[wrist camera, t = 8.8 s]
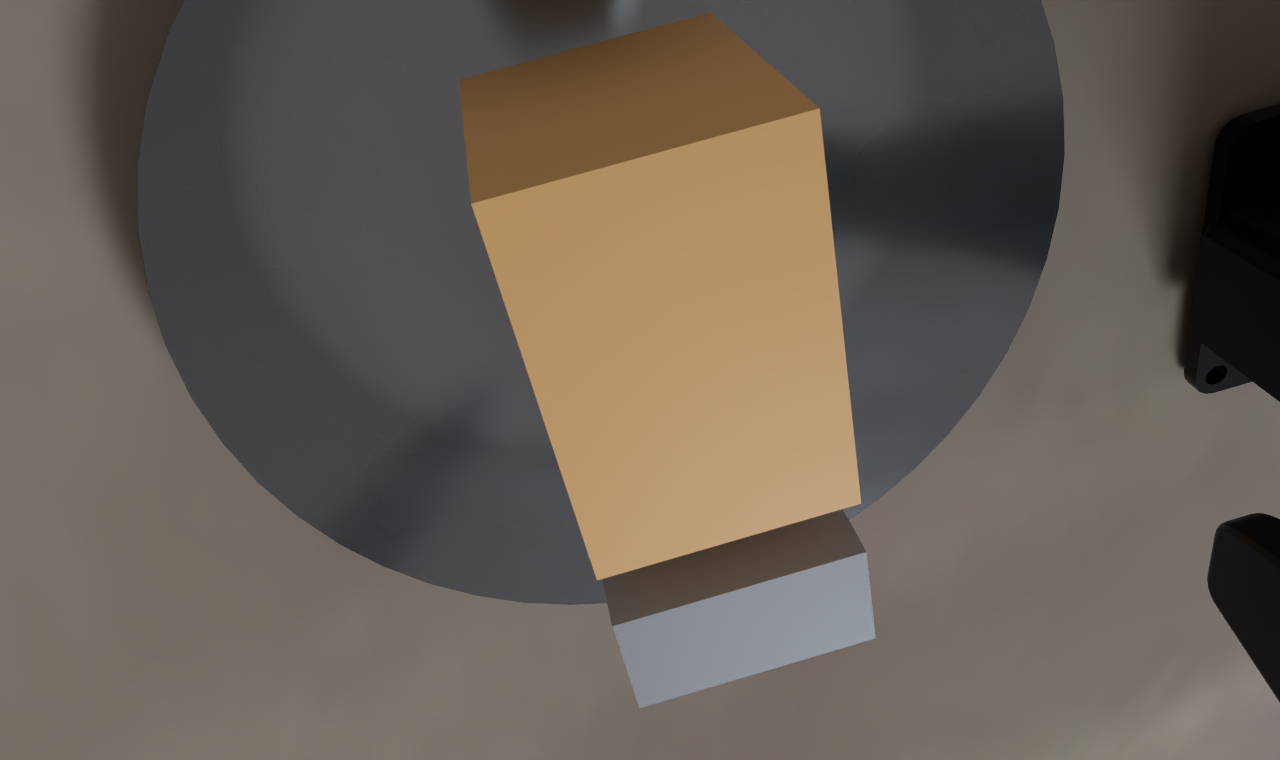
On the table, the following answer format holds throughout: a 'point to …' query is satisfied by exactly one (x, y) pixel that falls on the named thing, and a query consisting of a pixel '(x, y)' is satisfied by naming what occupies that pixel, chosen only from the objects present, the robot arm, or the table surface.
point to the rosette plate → (464, 278)
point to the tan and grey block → (681, 341)
